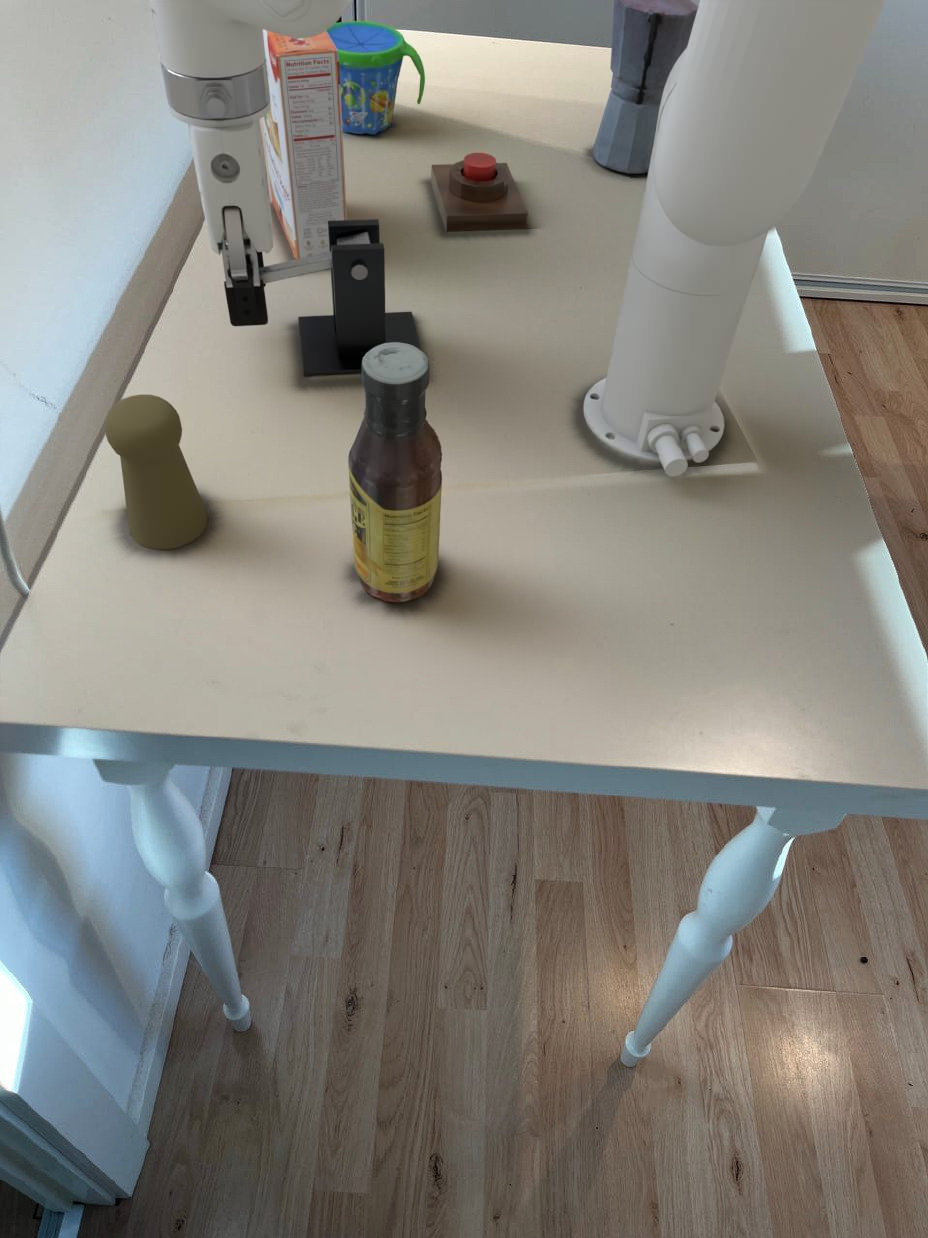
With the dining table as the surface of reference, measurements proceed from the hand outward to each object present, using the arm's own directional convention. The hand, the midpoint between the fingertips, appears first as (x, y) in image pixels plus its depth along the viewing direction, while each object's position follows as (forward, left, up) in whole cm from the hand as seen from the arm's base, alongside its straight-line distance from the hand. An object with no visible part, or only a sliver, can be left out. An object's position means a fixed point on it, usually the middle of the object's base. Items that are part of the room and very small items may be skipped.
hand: (248, 302), depth 84 cm
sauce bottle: (-29, -10, -6) cm, 31 cm away
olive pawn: (-21, +7, -6) cm, 23 cm away
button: (+27, -26, -2) cm, 37 cm away
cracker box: (+22, -6, -6) cm, 24 cm away
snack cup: (+49, -15, -6) cm, 51 cm away
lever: (0, -5, +2) cm, 6 cm away
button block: (+27, -26, -6) cm, 38 cm away
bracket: (0, -10, -6) cm, 11 cm away
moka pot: (+37, -47, -6) cm, 60 cm away
